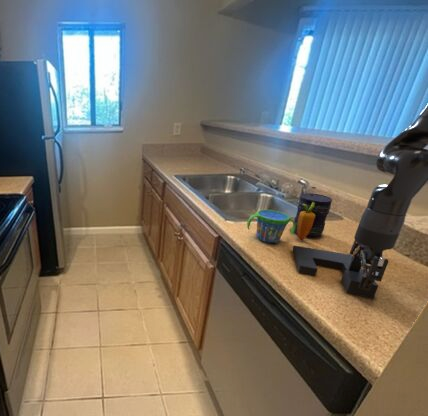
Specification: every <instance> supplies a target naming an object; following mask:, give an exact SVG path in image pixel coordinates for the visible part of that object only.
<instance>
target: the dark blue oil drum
mask: <svg viewBox="0 0 428 416" xmlns="http://www.w3.org/2000/svg"><path fill="white" fill-rule="evenodd" d="M311 188H312V189H317V187H316V186H311ZM312 202H314V203H315V205H314V207H313V209H312V210H311V212H312V213H314V214H315V219H314V222H313V225H312V228H311V230H310V231H309V233H308V235H307V236H306V237H305V238H306V239H314V240H316V239H320V238H322V236H323V235H322V234H323V232H324V230H325V226H326V220H327V217H328V215H329V213H330V210H331V207H332V202H333V198H332V197H330V196H328V195H324V194H318V193H308V192H306V193H301V194H300V196H299V200H298V203H297V206H296V207H297V208H296V209H297V211H296V215H295V217H294V219H293V220H294V222H295V224H296V229H295V232H294V234H295V235H296V236H298V234H297V223H298V218H299V214H300V212H302V211H306V210H305V207H304V206H303V205H302V204H306V205H307V207H308V209H309V208H310V207H311V204H312ZM305 238H304V239H305Z"/></svg>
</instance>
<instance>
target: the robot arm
mask: <svg viewBox="0 0 428 416" xmlns="http://www.w3.org/2000/svg"><path fill="white" fill-rule="evenodd" d="M426 147H428V104H427V105H426V106H425V108H424V109H423V110H422V111H421V112H420V114H419V115H418V116H417V117H416V119H415V120H414V121H413V123H411V124H410V125H409V126H408V127H407V128H405V129H404V130H402V131H401V132H400V133H399V134H397V136H395V137H394V138H393V139H391V141H390V142H388V143H387V144H386V145H385V146H384V147H383V148H382V149H381V150H380V151H379V152H378V155H377V156H376V159H375V167H376V169H377V170H378V171H379V172H381V173H383V174H387V175H390V176H393V177H392V179H391V181H390V182H389V183H388V184H379V185H377V186H376V187H374V188H373V190H372V192H371V194H370V197H369V200H368V203H367V205H366V208H365V210H364V211H363V213H362V215H361V218H360V219H359V223H358V225H357V229H356V231H355V233H354V241H353V244H352V246H351V248H350V250H349V255H352V256H351V259H353V260H352V261H351V264H350V266H349V269H348V270H349V271H354V272H359V271H360V269H361V268H362V269H363V276H362V278H361V281H360V283H359V286H358V287H359V288H360V289H361V290H366V291H370V290H371V287H372V285H373V282H374V280H375V282H382V280H383V277H384V275H385V272H386V269H387V267H388V264H389V259H388V258H383V253H384V251H387V250H388V251H389V250H392V249H394V248H395V245H396V243H397V241H398V239H399V236H400V235H401V232H402V229H403V227H404V224H405V221H406V217H407V214H408V211H409V209H410V207H411V204H412V202H413V199H414V198H415V197H416V196H417V195H418V194H419V193H420V192H421V190H422V189H423V188H424V187H425V186H426V185H427V183H428V149H427V148H426Z"/></svg>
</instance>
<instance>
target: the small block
mask: <svg viewBox="0 0 428 416" xmlns="http://www.w3.org/2000/svg"><path fill="white" fill-rule="evenodd" d="M362 276H363V273H359V272H354V271H348V270H345V271H344V274H343V273H342V277H341V279H340V282H341V283H340V284H341V285H342V286H343V288H344V291H345V292H346V293H347V294H351V295H355V296H360V297H363V298H364V297H365V298H368V299H369V298H370V299H375V296H376V294H377V291H378V288H379V284H378V283H377V281H375V280H374V282H373V285H372V287H371V290H370V291H366V290H361V289H360V288H359V287H358V286H359V283H360V281H361V278H362Z"/></svg>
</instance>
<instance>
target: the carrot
mask: <svg viewBox="0 0 428 416" xmlns="http://www.w3.org/2000/svg"><path fill="white" fill-rule="evenodd" d="M302 205H303V206H304V207H305V210H306V211H302V212H300V214H299V218H298V223H297V234H298V235H297V239H298V240H299V241H303V240H304V239H305V237H306V236H307V235H308V233H309V231H310V230H311V228H312V225H313V222H314V219H315V214H314V213H312V212H311V210H312V209H313V207H314V205H315V203H314V202H312V204H311V207H310V208H309V209H308V207H307V205H306V204H302Z"/></svg>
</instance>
